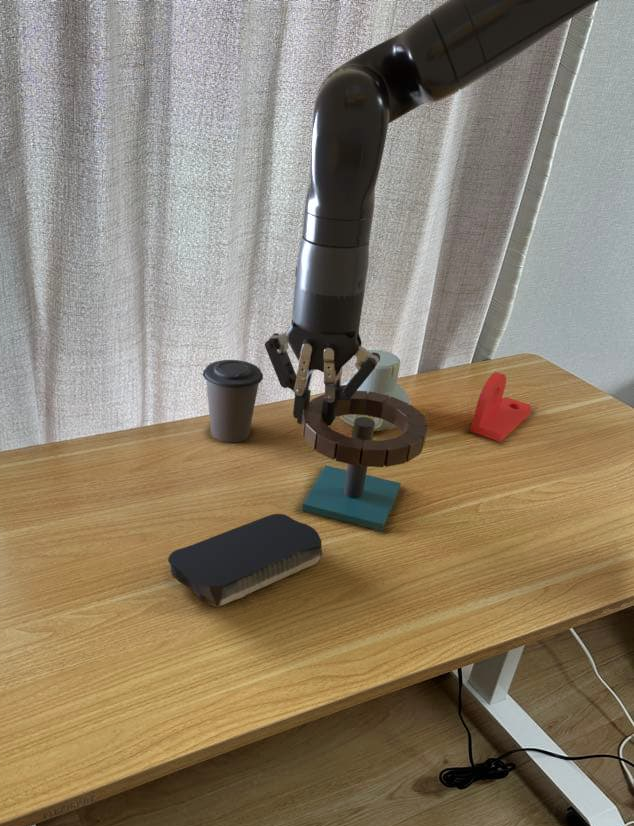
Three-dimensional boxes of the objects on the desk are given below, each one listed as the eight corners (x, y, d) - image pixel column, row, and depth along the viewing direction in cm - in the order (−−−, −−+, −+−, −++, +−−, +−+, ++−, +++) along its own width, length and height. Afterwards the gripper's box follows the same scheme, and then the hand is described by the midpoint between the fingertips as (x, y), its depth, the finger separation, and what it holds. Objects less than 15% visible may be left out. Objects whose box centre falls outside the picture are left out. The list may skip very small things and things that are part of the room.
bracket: (499, 441, 114) (514, 391, 110) (470, 431, 116) (483, 380, 112) (531, 412, 122) (546, 364, 117) (503, 403, 124) (517, 355, 119)
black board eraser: (207, 621, 82) (208, 593, 79) (162, 576, 87) (162, 549, 85) (327, 567, 90) (331, 540, 87) (280, 529, 95) (283, 503, 93)
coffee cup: (241, 453, 108) (245, 385, 102) (190, 436, 112) (191, 369, 106) (269, 429, 114) (274, 363, 108) (219, 413, 117) (222, 349, 111)
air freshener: (322, 421, 117) (330, 356, 111) (347, 400, 122) (357, 338, 116) (391, 444, 112) (404, 378, 106) (414, 422, 118) (427, 358, 112)
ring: (434, 421, 99) (437, 405, 97) (410, 478, 88) (414, 461, 86) (321, 397, 103) (323, 381, 101) (285, 449, 92) (287, 432, 90)
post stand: (399, 489, 103) (415, 412, 96) (382, 531, 96) (397, 451, 89) (324, 471, 106) (335, 395, 99) (301, 510, 98) (311, 431, 92)
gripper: (401, 281, 87) (376, 422, 98) (280, 260, 91) (269, 398, 102) (386, 303, 82) (361, 451, 92) (258, 280, 86) (248, 424, 96)
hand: (313, 423), depth 97 cm, fingers closed on ring, 2 cm apart
